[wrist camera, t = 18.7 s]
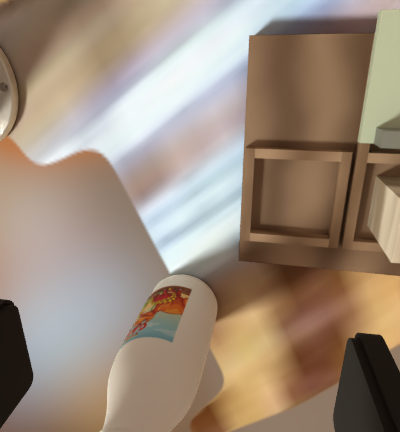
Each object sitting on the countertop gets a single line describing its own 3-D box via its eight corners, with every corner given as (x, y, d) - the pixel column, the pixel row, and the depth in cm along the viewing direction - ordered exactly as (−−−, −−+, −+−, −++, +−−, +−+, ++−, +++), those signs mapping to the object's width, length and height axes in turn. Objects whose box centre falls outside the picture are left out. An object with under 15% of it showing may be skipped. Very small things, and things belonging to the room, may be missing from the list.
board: (240, 251, 37) (237, 265, 34) (250, 38, 30) (248, 34, 27) (429, 268, 34) (443, 285, 31) (493, 33, 26) (518, 28, 24)
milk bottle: (224, 280, 39) (178, 462, 20) (213, 336, 42) (164, 538, 23) (156, 265, 40) (54, 425, 21) (150, 320, 42) (56, 502, 24)
